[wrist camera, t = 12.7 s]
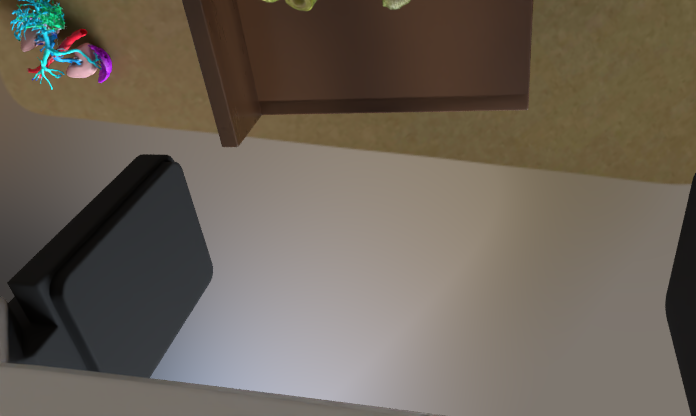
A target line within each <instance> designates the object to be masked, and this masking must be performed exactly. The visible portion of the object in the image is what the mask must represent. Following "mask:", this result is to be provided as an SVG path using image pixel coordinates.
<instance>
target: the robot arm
mask: <svg viewBox="0 0 696 416" xmlns="http://www.w3.org/2000/svg"><path fill="white" fill-rule="evenodd" d="M212 275H213V266H212V262H211V258H210V255H209V252H208V249H207V246H206V243H205V239H204V236H203V233H202V230H201V227H200V224H199V221H198V217H197V214H196V211H195V208H194V205H193V202H192V199H191V195H190V192H189V189H188V186H187V183H186V180H185V176H184V173H183V170H182V168H181V166H180V165H179V163H177V162H174V160H173V159H172V158H171V156H168V155H139V156H138V157H136V158H135V159H134V160H133V161H132V162H131V163H130V164H129V165H128V166H127V167H126V168H125V169H124V170H123V171H122V172H121V173H120V174H119V175H118V176H117V177H116V178H115V179H114V180H113V181H112V182H111V183H110V184H109V185H108V186H106V187H105V188H104V189H103V190H102V192H100V193H99V194H98V195H97V196H96V197H95V198H94V199H93V200H92V201H91V202H90V203H89V204H88V205H87V206H86V207H85V208H84V209H83V210H82V211H81V212H80V213H79V214H78V215H77V216H76V217H75V218H73V219H72V220H71V221H70V222H69V223H68V224H67V225H66V226H65V227H64V228H63V229H62V230H61V231H60V232H59V233H58V234H57V235H56V236H55V237H54V238H53V239H52V240H51V241H50V242H49V243H48V244H47V245H46V246H45V247H44V248H43V249H42V250H40V251H39V253H37V254H36V255H35V256H34V257H33V259H31V260H30V261H29V262H28V263H27V264H26V265H25V266H24V267H23V268H22V269H21V270H20V271H19V272H18V273H17V274H16V275H15V276H14V277H13V278H12V279H11V280H10V281H9V282H8V285H9V287H10V289H11V290H12V292H13V294H14V296H15V297H14V298H13V299H12V300H11V301H10V302H9V303H7V301H6V300H5V299H4V298H3V297H1V296H0V416H443V415H436V414H429V413H421V412H414V411H406V410H398V409H391V408H383V407H375V406H367V405H360V404H352V403H343V402H335V401H328V400H321V399H312V398H305V397H296V396H289V395H281V394H273V393H265V392H257V391H249V390H241V389H233V388H225V387H217V386H209V385H200V384H193V383H192V384H191V383H184V382H176V381H167V380H158V379H151V378H150V376H151V375H152V373H153V372H154V370H155V368H156V367H157V365H158V364H159V362H160V361H161V359H162V357H163V356H164V354H165V353H166V351H167V349H168V348H169V346H170V345H171V343H172V342H173V340H174V338H175V337H176V335H177V334H178V332H179V330H180V329H181V327H182V326H183V324H184V323H185V321H186V319H187V318H188V316H189V315H190V313H191V312H192V310H193V308H194V307H195V305H196V304H197V302H198V300H199V299H200V297H201V296H202V294H203V293H204V291H205V289H206V288H207V286H208V285H209V283H210V281H211V278H212ZM665 306H666V307H665V308H666V317H667V321H668V325H669V329H670V332H671V336H672V341H673V345H674V349H675V353H676V357H677V361H678V364H679V369H680V373H681V377H682V381H683V385H684V389H685V393H686V397H687V401H688V405H689V408H690V413H691V416H696V173H695V175H694V177H693V181H692V185H691V190H690V194H689V199H688V203H687V207H686V211H685V216H684V220H683V225H682V229H681V233H680V237H679V242H678V246H677V251H676V255H675V259H674V264H673V268H672V272H671V277H670V281H669V286H668V290H667V294H666V304H665Z"/></svg>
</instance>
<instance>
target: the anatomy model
mask: <svg viewBox="0 0 696 416" xmlns="http://www.w3.org/2000/svg"><path fill="white" fill-rule="evenodd" d="M17 1H28V2H29V3H32V4H24V5H23V6H26V5H31V6H35V7H36V8H35V9H36V11H35V10H32V11H33V13H28V11H29V10H31V9H30V8H29V6H28V8H27V10H26V9H25V11H24V9H23V11H24V13H23V12H22V10H21V9H18V10H19V11H18V10H16V11H15V10H13V13H12V14H14V13H16V16H17V17H16V19H15V20H12V21H11V23H10V25H11V24H12V23H14V24H16V23H17V22H18V21H20V22H19V23H18V25H17V27H15V28H17V29H16V31H17V32H18V30H19V33H18V35H17V34H16V35H15V33H16V31H15V33H14V36H15V37H16V39H18V40H19V41H20V40H21V39H20V38H19V35H20V36H21V30H23V29H24V34H23V37H22V40H21V49H22V51H23V52H26V51H29V50H31V49H33V48H35V47H37V46H38V45H43V44H44V43H45V46H44V47H43V48H42V49H40V51H41V52H42V50H43V49H44V48H46V49H45V51H44V54H43V55H44V56H43V59H42V61H41V60H40V59H39V58H38V57H37V58H38V59H39V60H40V61H41V65H40V66H38V67H37V68H36V69H30V68H28V69H27V70H28V72H32V73H37V74H36V76H38V77H37V79H38V78H41V80H42V77H44V78H45V79H46V80H47V81H48V79H47V78H46V77H45V75H44V73H45V71H48V72H49V73H50V74H51V75H53V76H59V77H61V75H55V74H53V73H52V72H51V70H52V71H59V70H54V69H48V67H49V65H50V64H51V63H52V62H53V61H54V60H56V61H58V62H69V63H72V64H70V65H69V66H68V68H67V71H66V74H67V75H68V76H70V77H73V78H86V77H88V76H90V75H93V74H94V73H95V72H96V70H97V68H99V69H100V73H99V79H98V82H99V83H101V82H103V81H105V80H106V79H107V78H108V77H109V75H110V72H111V69H112V62H111V59H110V56H109V55H108V54H107V53H106V52H105V50H103V49H102V48H100V47H98V48H97V46H94V45H91V44H90V43H84V44H81V45H80V46H78V47H77V48H76V49H71V50H68V49H69V48H70V46H71V45H72V44H73V43H74V41H75V40H77V39H79V38H80V37H83V36H85V35H86V34H87V30H85V29H79V30H76V31H75V32H73V33H72V34H71V36H69V37H66V39H63V40H64V41H63V42H62V43H61V45H60V46H58V48H57V49H56V50H55V49H53V47H54V45H55V42H54V40H55V39H56V38H58V37H57V35H58V33H59V30H61V29H65V25H64V24H65V22H64V21H63V20H65V19H64V18H63V16H64V13H63V12H62V11H61V9H63V8H62V7H60V6H59V4H60V3H59V4H58V3H57V2H56V3H57V6H56V5H55V4H54V6H51V4H49V1H51V0H44V1H43V0H39V1H38V0H37V2H35V1H34V0H17ZM31 1H32V2H31ZM52 3H54V2H53V1H52ZM46 4H47V5H46ZM21 5H22V4H20V7H21ZM40 5H41V6H40ZM17 6H18V4H17ZM18 7H19V6H18ZM20 7H19V8H20ZM57 7H58V8H57ZM40 8H41V9H42V11H41V9H40ZM53 8H54V10H53ZM53 11H54V13H53ZM34 12H36V13H34ZM51 12H52V13H53V14H52V13H51ZM62 13H63V15H62ZM59 14H60V15H59ZM20 16H21V17H20ZM30 17H33V18H30ZM19 18H23V19H19ZM29 18H30V19H29ZM31 19H32V20H31ZM34 19H35V20H34ZM27 20H28V21H27ZM24 21H25V23H24ZM58 22H59V23H60V24H61V25H60V24H59V23H58ZM21 23H22V24H21ZM14 24H13V26H12V30H13V27H14ZM20 24H21V27H20V28H19V26H20ZM23 24H24V25H23ZM32 24H33V25H32ZM27 25H28V26H27ZM27 28H28V29H27ZM59 28H60V29H59ZM26 29H27V30H26ZM58 39H59V38H58ZM57 45H58V44H57ZM72 52H74V55H75V57H73V58H65V59H61V58H62V57H64V56H62V55H65V54H70V53H72ZM49 54H51V56H50V57H49V58H48V56H49ZM98 55H99V56H98ZM59 56H62V57H59ZM47 58H48V59H47ZM99 60H101V61H100V62H101V64H99ZM98 64H99V65H100V66H101V67H102V68H100V67H98ZM44 70H45V71H44ZM59 72H60V73H62V74H63V75H64V73H63V72H61V71H59ZM41 74H42V77H41ZM36 76H35V77H34V78H33V79H32V80H34V79H35V78H36ZM59 77H56V78H59ZM37 79H36V80H37ZM48 83H49V85H50V87H51V90H52V89H53V88H52V86H51V84H50V82H49V81H48ZM40 84H41V81H40Z"/></svg>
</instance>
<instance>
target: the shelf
mask: <svg viewBox="0 0 696 416" xmlns="http://www.w3.org/2000/svg"><path fill="white" fill-rule="evenodd" d="M182 2H183V5H184V9H185V12H186V16H187V20H188V23H189V27H190V31H191V34H192V38H193V42H194V45H195V49H196V53H197V56H198V60H199V63H200V67H201V71H202V74H203V78H204V82H205V85H206V89H207V93H208V96H209V100H210V104H211V107H212V111H213V114H214V118H215V122H216V125H217V129H218V133H219V136H220V140H221V144H222V147H238V146H239V145H240V143H241V142H242V141H243V140H244V138H245V137H246V136H247V134H248V133H249V132H250V130H251V129H252V128H253V126H254V125H255V123H256V122H257V121H258V119H259V118H260V117H261V115H286V114H339V113H391V112H444V111H496V110H528V104H529V81H530V58H531V35H532V13H533V0H411V1H410V2H409V3H408V4H406V5H403V6H402V7H401V8H400V9H395V10H394V9H392V10H390V9H389V8H388V7H384V6H383V3H382V0H317V1H316V2H315V4H314V5H313V7H312V8H311V10H309V11H301V10H297V9H295V8H293V7H291V6H290V5H288V4H287V3H286V1H285V0H278V1H275V2H265V1H262V0H182Z"/></svg>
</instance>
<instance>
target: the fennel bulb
mask: <svg viewBox="0 0 696 416" xmlns="http://www.w3.org/2000/svg"><path fill="white" fill-rule="evenodd" d="M262 1H265V2H275V1H278V0H262ZM285 1H286V3H287V4H288V5H290V6H291V7H293V8H295V9H297V10H301V11H309V10H311V8H312V7H313V5H314V4H315V2H316V1H317V0H285ZM410 1H411V0H382V3H383V6H384V7H388V8H389V9H390V10H392V9H394V10H395V9H400V8H401V7H402V6H403V5H406V4H408V3H409V2H410Z"/></svg>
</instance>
